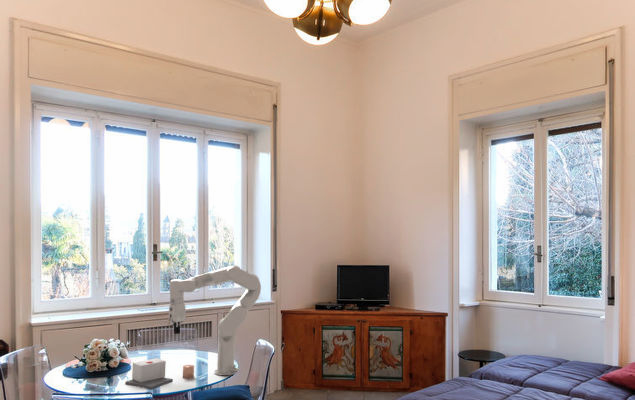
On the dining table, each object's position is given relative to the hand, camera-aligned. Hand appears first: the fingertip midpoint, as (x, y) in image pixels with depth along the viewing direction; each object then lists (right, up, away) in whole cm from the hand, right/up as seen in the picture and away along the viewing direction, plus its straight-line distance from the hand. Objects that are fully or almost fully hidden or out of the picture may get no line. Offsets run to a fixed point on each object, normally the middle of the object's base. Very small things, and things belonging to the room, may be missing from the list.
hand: (177, 333), depth 298 cm
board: (-10, -21, -19) cm, 30 cm away
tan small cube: (+8, -23, -7) cm, 25 cm away
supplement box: (-6, -16, -9) cm, 20 cm away
